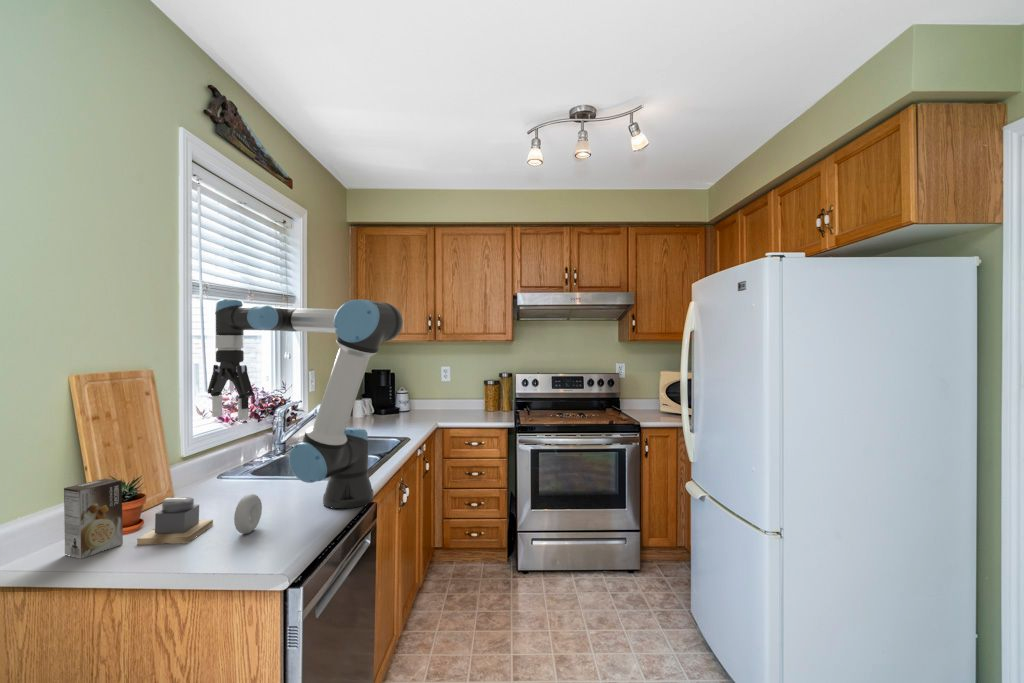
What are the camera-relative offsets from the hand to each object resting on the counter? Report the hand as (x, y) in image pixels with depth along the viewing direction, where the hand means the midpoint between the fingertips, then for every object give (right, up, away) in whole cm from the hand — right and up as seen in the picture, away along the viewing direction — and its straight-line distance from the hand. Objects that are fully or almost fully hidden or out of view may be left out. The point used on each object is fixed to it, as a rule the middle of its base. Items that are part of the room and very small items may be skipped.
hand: (229, 418), depth 153 cm
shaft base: (0, -27, -24) cm, 36 cm away
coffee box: (-13, -27, -34) cm, 45 cm away
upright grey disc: (+18, -27, -23) cm, 40 cm away
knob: (0, -25, -24) cm, 35 cm away
